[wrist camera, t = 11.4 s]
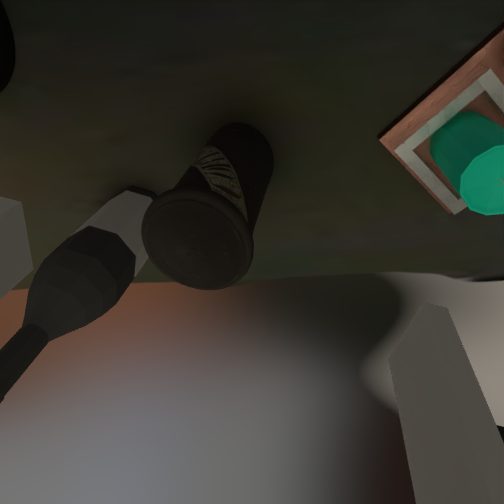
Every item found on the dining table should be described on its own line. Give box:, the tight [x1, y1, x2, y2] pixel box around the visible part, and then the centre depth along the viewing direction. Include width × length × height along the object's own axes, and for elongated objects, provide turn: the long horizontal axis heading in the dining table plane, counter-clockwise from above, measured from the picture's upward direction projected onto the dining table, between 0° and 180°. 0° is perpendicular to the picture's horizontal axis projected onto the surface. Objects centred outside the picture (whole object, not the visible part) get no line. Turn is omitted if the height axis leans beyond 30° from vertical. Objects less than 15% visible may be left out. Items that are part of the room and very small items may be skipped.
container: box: [141, 123, 273, 290], centre depth 36 cm, size 9×9×20 cm
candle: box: [429, 111, 504, 215], centre depth 33 cm, size 6×6×12 cm
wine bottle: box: [0, 186, 157, 403], centre depth 38 cm, size 8×8×30 cm
